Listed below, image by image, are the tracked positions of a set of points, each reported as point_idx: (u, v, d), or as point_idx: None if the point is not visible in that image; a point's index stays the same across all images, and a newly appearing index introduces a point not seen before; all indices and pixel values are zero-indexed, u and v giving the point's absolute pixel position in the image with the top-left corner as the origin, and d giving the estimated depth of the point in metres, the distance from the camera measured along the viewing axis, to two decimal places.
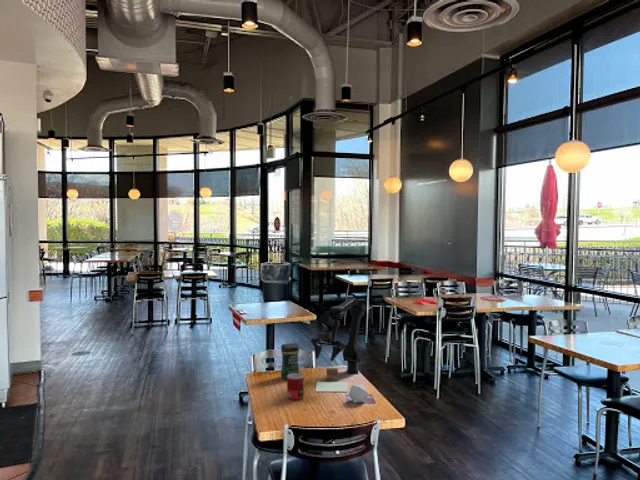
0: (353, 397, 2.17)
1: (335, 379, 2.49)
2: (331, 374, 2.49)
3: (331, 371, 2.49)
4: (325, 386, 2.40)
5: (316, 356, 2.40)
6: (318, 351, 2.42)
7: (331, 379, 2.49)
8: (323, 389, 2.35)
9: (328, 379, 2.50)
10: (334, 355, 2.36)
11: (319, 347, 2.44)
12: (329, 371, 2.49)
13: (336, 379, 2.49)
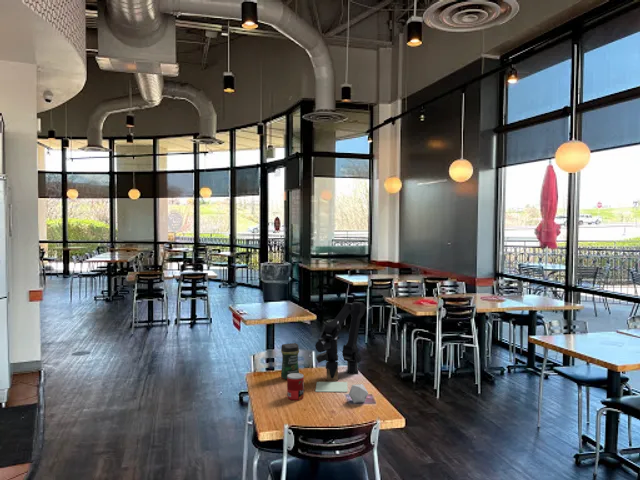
0: (353, 397, 2.17)
1: (335, 379, 2.49)
2: None
3: None
4: (325, 386, 2.40)
5: None
6: None
7: (331, 379, 2.49)
8: (323, 389, 2.35)
9: (328, 379, 2.50)
10: (332, 373, 2.48)
11: None
12: (329, 371, 2.49)
13: (336, 379, 2.49)
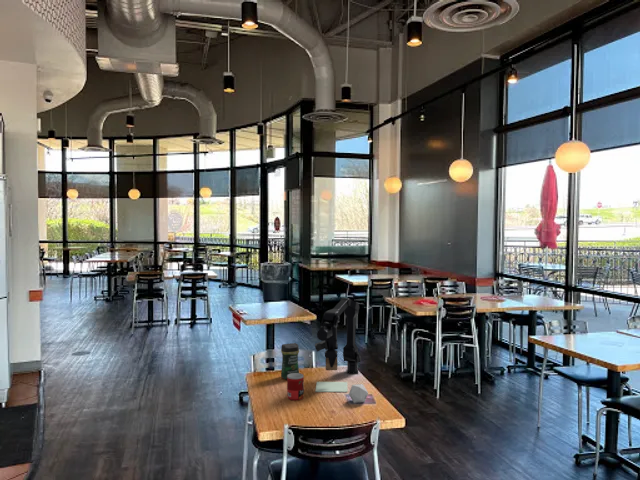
0: (353, 397, 2.17)
1: (334, 368, 2.40)
2: None
3: None
4: (325, 386, 2.40)
5: None
6: None
7: (330, 368, 2.40)
8: (323, 389, 2.35)
9: (327, 368, 2.40)
10: (331, 362, 2.38)
11: None
12: (328, 360, 2.40)
13: (335, 368, 2.40)
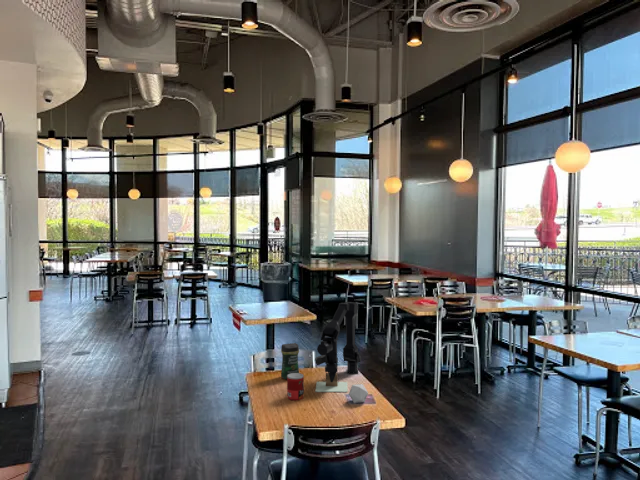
0: (353, 397, 2.17)
1: (335, 384, 2.40)
2: None
3: None
4: (325, 386, 2.40)
5: None
6: None
7: (330, 384, 2.40)
8: (323, 389, 2.35)
9: (327, 384, 2.40)
10: (331, 376, 2.38)
11: None
12: (328, 376, 2.40)
13: (336, 384, 2.40)
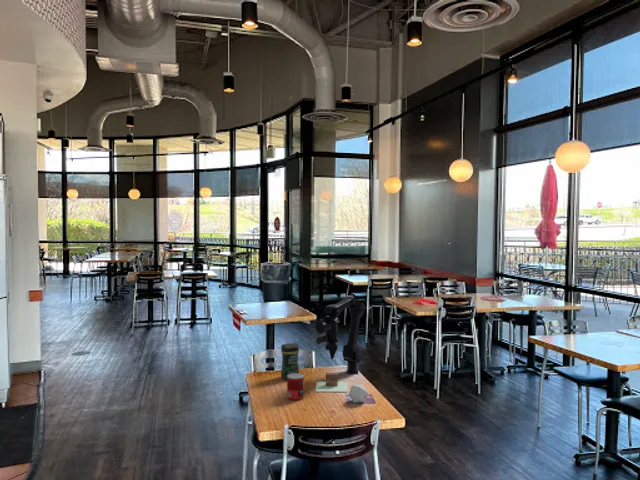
0: (353, 397, 2.17)
1: (335, 384, 2.40)
2: (330, 379, 2.40)
3: (330, 376, 2.40)
4: (325, 386, 2.40)
5: (330, 356, 2.48)
6: None
7: (330, 384, 2.40)
8: (323, 389, 2.35)
9: (327, 384, 2.40)
10: (331, 353, 2.47)
11: None
12: (328, 376, 2.40)
13: (336, 384, 2.40)
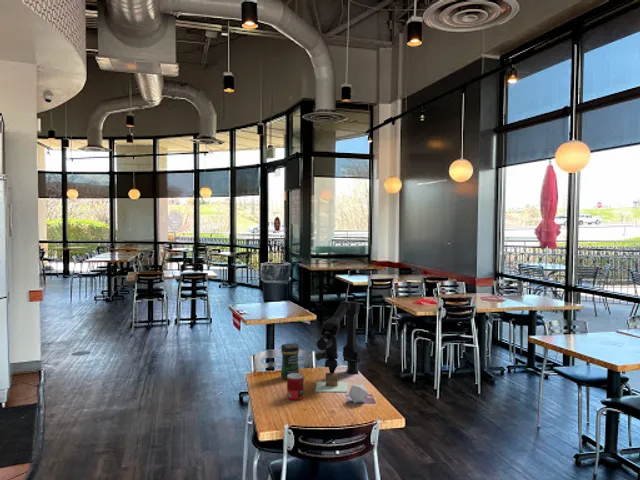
0: (353, 397, 2.17)
1: (335, 384, 2.40)
2: (330, 379, 2.39)
3: (330, 377, 2.39)
4: (325, 386, 2.40)
5: None
6: None
7: (330, 384, 2.40)
8: (323, 389, 2.35)
9: (327, 384, 2.40)
10: (331, 370, 2.41)
11: None
12: (328, 377, 2.39)
13: (336, 384, 2.40)
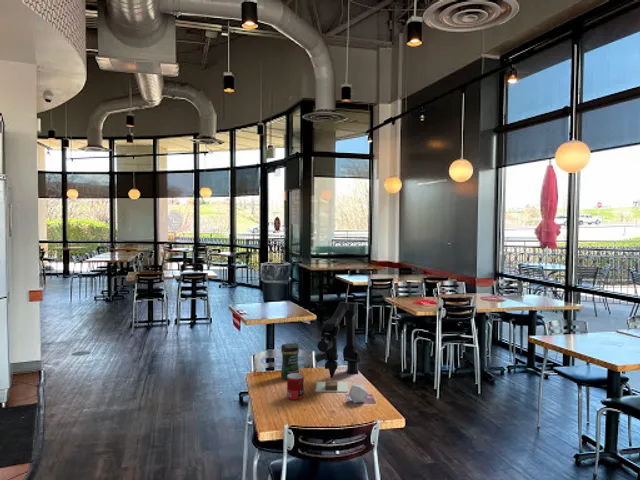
0: (353, 397, 2.17)
1: None
2: None
3: None
4: None
5: (330, 375, 2.39)
6: None
7: None
8: (323, 389, 2.35)
9: None
10: (331, 372, 2.38)
11: None
12: None
13: None
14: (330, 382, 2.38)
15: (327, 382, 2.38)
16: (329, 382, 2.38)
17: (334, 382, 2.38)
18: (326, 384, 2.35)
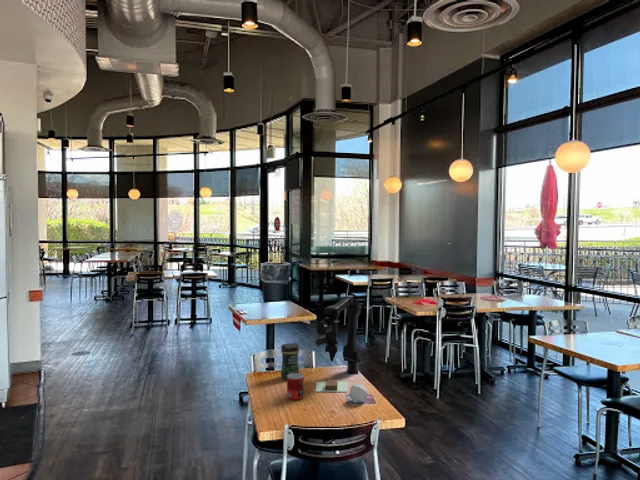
0: (353, 397, 2.17)
1: None
2: None
3: None
4: None
5: (330, 359, 2.44)
6: None
7: None
8: (323, 389, 2.35)
9: None
10: (331, 356, 2.43)
11: None
12: None
13: None
14: (330, 382, 2.38)
15: (327, 382, 2.38)
16: (329, 382, 2.38)
17: (334, 382, 2.38)
18: (326, 384, 2.35)
